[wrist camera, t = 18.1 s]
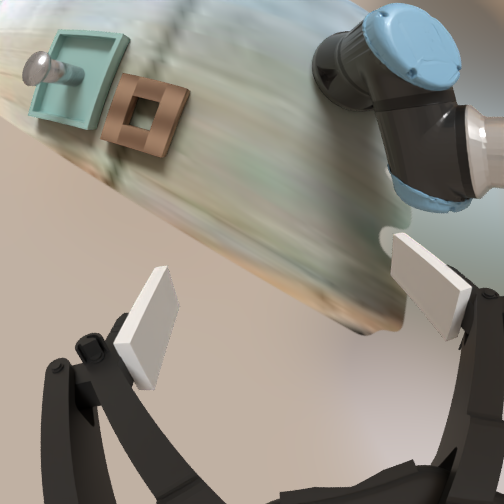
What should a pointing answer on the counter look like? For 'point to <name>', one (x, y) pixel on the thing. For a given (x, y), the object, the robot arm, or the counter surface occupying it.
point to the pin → (51, 71)
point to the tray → (93, 85)
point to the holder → (164, 119)
